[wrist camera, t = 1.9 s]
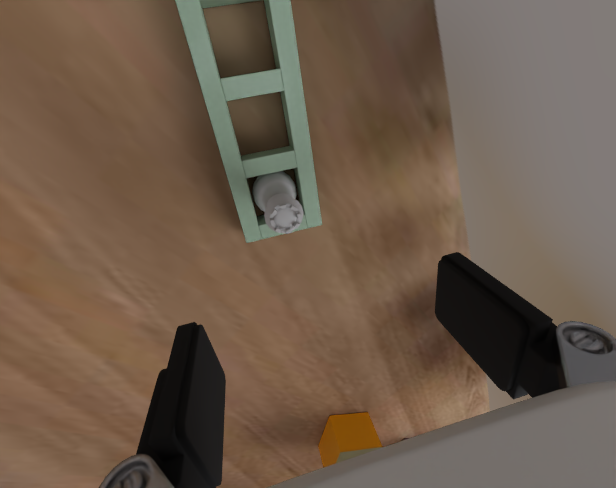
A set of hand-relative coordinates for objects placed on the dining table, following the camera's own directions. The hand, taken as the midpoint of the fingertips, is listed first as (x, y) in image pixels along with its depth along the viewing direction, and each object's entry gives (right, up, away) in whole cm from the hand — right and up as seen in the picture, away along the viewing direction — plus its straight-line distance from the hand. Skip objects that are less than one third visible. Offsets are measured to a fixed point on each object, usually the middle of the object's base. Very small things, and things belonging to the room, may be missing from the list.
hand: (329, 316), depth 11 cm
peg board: (-5, +14, +16) cm, 22 cm away
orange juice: (+6, -31, +42) cm, 53 cm away
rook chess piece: (-4, +8, +19) cm, 21 cm away
